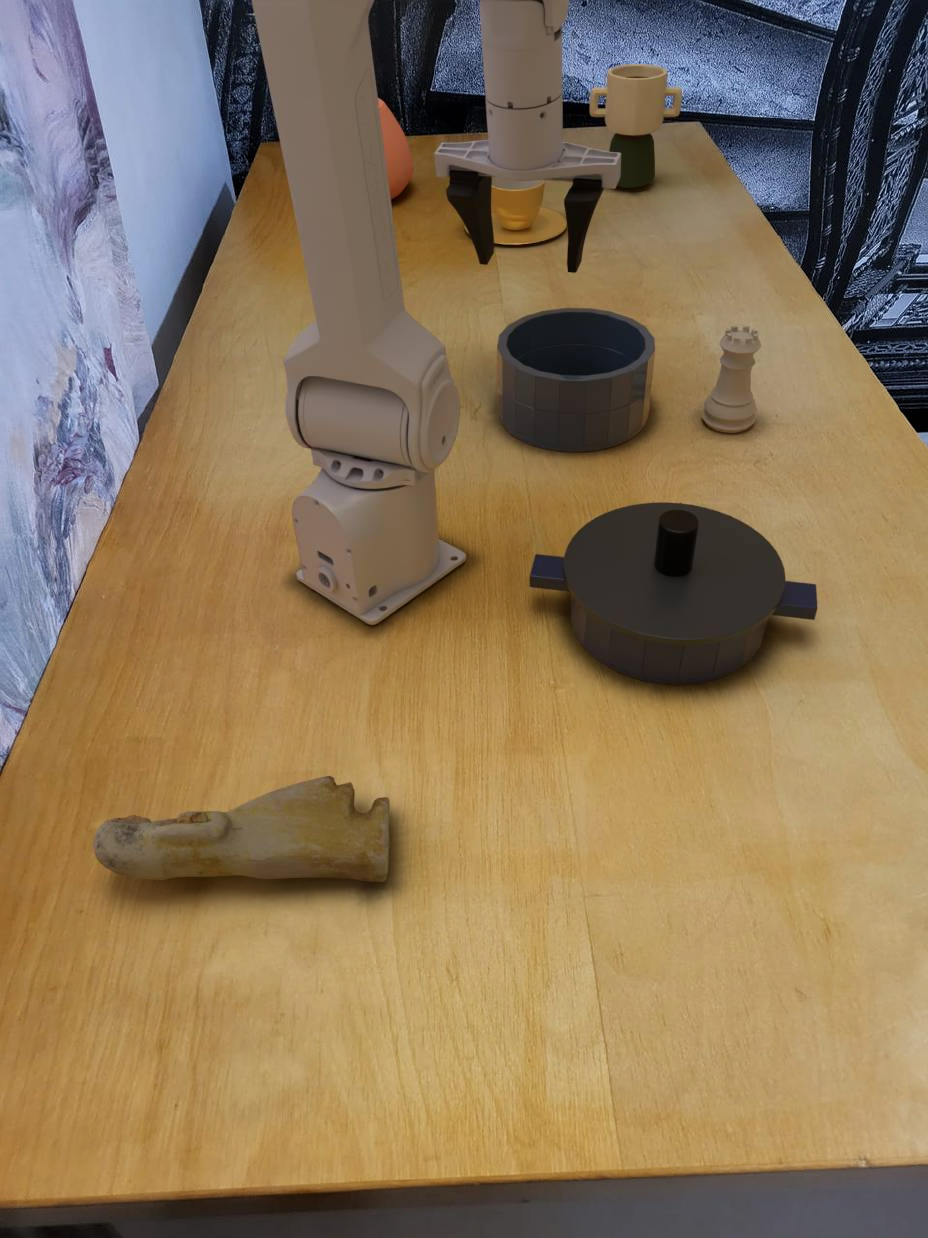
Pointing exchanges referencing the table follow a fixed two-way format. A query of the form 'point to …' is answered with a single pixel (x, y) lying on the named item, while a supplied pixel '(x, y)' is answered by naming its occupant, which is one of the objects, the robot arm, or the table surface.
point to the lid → (674, 573)
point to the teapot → (395, 151)
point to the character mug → (635, 116)
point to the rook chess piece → (733, 383)
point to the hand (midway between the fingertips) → (530, 262)
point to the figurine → (257, 838)
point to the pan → (667, 659)
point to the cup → (522, 213)
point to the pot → (574, 378)
